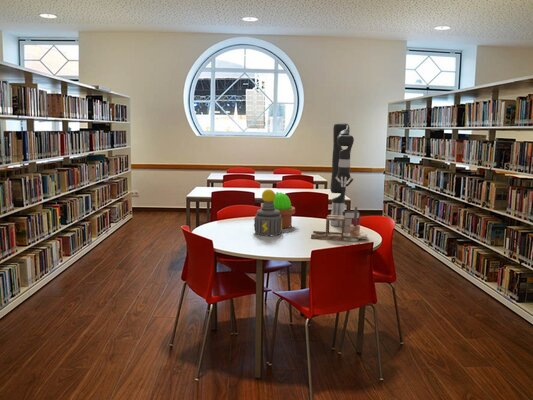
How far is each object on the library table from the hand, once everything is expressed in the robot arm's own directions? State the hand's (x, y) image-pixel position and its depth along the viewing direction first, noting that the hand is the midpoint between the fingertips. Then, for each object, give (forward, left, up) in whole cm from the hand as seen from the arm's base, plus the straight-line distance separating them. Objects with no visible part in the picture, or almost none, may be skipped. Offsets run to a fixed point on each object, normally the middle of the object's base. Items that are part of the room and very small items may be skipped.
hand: (343, 192), depth 315 cm
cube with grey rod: (+11, +2, -28) cm, 30 cm away
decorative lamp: (-31, -38, -30) cm, 58 cm away
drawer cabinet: (+2, -7, -29) cm, 30 cm away
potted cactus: (-48, -17, -30) cm, 59 cm away
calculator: (-4, +12, -30) cm, 32 cm away
